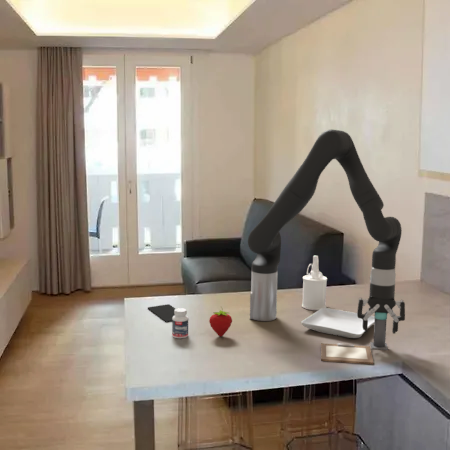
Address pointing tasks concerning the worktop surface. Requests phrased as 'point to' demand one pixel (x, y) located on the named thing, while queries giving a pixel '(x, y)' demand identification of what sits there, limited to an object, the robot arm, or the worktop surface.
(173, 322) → the pill bottle
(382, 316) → the marker
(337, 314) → the salad plate
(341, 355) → the clipboard
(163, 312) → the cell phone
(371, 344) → the coaster
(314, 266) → the white nozzle bottle
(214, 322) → the strawberry
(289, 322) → the worktop surface
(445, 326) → the worktop surface
